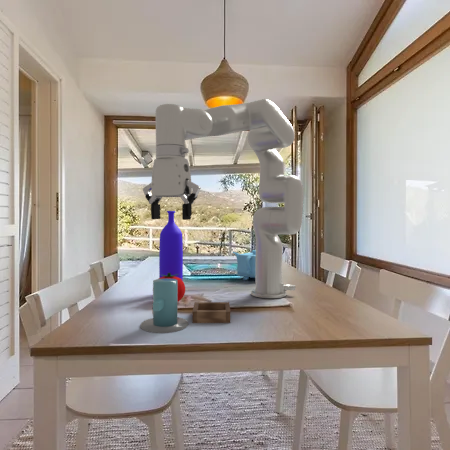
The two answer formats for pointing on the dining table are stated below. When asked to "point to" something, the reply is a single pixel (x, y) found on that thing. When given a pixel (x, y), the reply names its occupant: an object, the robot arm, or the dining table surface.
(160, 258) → the bottle
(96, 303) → the dining table surface
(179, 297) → the tomato
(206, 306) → the cradle
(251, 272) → the light blue cushion
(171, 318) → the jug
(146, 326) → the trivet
